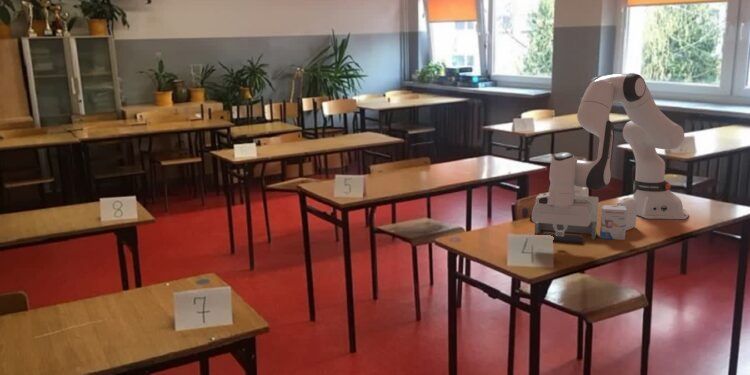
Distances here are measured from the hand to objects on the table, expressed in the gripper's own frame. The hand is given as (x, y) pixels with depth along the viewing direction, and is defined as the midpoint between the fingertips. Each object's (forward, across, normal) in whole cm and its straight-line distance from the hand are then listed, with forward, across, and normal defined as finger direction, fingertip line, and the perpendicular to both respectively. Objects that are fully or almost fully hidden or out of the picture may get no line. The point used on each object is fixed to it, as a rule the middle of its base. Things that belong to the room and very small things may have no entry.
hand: (559, 235), depth 229 cm
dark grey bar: (+3, 0, -7) cm, 7 cm away
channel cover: (-5, 0, -20) cm, 21 cm away
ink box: (+4, -17, -16) cm, 24 cm away
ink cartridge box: (+4, -1, -46) cm, 46 cm away
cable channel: (+4, 0, -16) cm, 16 cm away
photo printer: (+4, -21, -29) cm, 36 cm away
